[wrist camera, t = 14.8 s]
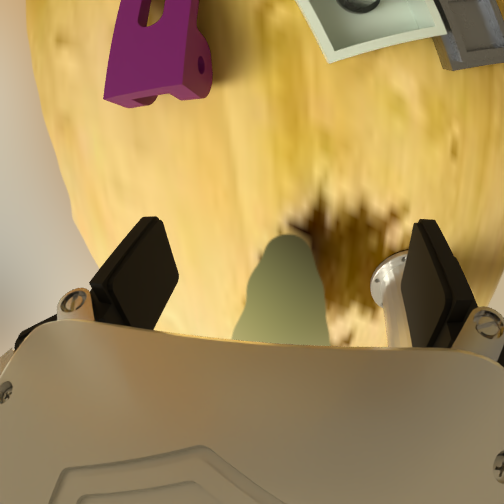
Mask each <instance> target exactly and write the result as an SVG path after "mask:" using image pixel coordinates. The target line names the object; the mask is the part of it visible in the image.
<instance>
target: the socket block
mask: <svg viewBox="0 0 504 504" xmlns="http://www.w3.org/2000/svg"><path fill="white" fill-rule="evenodd" d="M433 1H434V3H435V5H436V8H437V10H438V12H439V14H440V17H441V19H442V22H443V24H444V27H445V29H446V32H447V34H445V35H439V36H434V37H432V39H433V42H434V44H435V47H436V50H437V53H438V55H439V58H440V61H441V64H442V67H443V69H446V70H451V71H455V70H460V69H466V68H471V67H477V66H483V65H490V64H496V63H504V21H503V18H502V15H501V12H500V10H499V7H498V5H497V2H496V0H433Z"/></svg>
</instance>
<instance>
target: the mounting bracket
mask: <svg viewBox="0 0 504 504" xmlns="http://www.w3.org/2000/svg"><path fill="white" fill-rule="evenodd" d="M150 4H151V0H121V2H120V6H119V11H118V15H117V19H116V24H115V29H114V33H113V38H112V44H111V49H110V55H109V61H108V67H107V74H106V81H105V89H104V97H103V99H104V100H107V101H110V102H112V103H115V104H118V105H121V106H123V107H126V108H134V107H140V106H146V105H150V104H152V103H153V102H154V101H155V100H156V98H157V96H158V95H161V94H167V93H169V94H171V95H173V96H174V97H176V98H178V99H179V100H191V99H201V98H205V97H207V95H208V94H209V92H210V89H211V85H212V76H213V72H212V62H211V53H210V49H209V46H208V43H207V41H206V39H205V38H204V36H203V35H202V34H201V33H200V31H199V30H198V28H197V14H198V5H199V0H165V5H164V11H163V15H162V17H161V18H160V19H159V20H158V21H157V22H156V23H155V24H153V25H151V26H149V27H146V26H147V20H148V15H149V9H150Z"/></svg>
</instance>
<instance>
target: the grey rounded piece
mask: <svg viewBox="0 0 504 504" xmlns="http://www.w3.org/2000/svg"><path fill="white" fill-rule="evenodd" d="M336 1H337V3H338V4H339V6H340V7H342V8H343V9H344V10H346V11H348V12H350V13H353V14H366V13H368V12H370V11H372V10H373V9H375V8H376V7H377V6H378V5H379V3H380V0H336Z"/></svg>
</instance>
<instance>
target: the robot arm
mask: <svg viewBox="0 0 504 504" xmlns="http://www.w3.org/2000/svg"><path fill="white" fill-rule="evenodd" d="M178 279H179V274H178V270H177V267H176V264H175V261H174V257H173V254H172V251H171V248H170V244H169V241H168V238H167V234H166V231H165V228H164V224H163V222H162V221H161V220H159V218H158V217H142V218H141V219H140V221H139V222H138V223H137V224H136V225H135V226H134V228H133V229H132V230H131V231H130V232H129V233H128V235H127V236H126V237H125V238H124V239H123V241H122V242H121V243H120V244H119V245H118V247H117V248H116V249H115V250H114V252H113V253H112V254H111V255H110V257H109V258H108V259H107V260H106V262H105V263H104V264H103V265H102V267H101V268H100V269H99V271H98V272H97V273H96V274H95V276H94V277H93V278H92V280H91V281H90V282H89V283H90V285H91V287H92V289H91V291H90V292H89V290H87V289H85V288H76V289H73V290H71V291H69V292H68V293H66V294H65V295H64V296H63V297H62V298H61V299H60V301H59V303H58V306H57V314H56V315H54V316H52V317H50V318H48V319H46V320H44V321H42V322H40V323H38V324H36V325H34V326H32V327H30V328H28V329H26V330H24V331H22V332H21V333H20V335H19V337H18V339H17V340H16V343H15V350H13V349H12V348H11V349H10V350H9V351H7V352H6V353H5V354H4V355H2V356H1V357H0V504H504V318H503V317H502V315H501V314H499V313H498V312H497V311H496V310H494V309H492V308H489V307H478V306H477V303H476V301H475V299H474V296H473V294H472V291H471V289H470V287H469V284H468V282H467V280H466V278H465V275H464V273H463V271H462V269H461V267H460V265H459V262H458V260H457V259H456V257H454V256H453V254H452V252H451V250H450V248H449V246H448V244H447V242H446V240H445V238H444V236H443V234H442V232H441V230H440V228H439V226H438V224H437V223H436V221H435V220H428V219H420V220H419V222H418V223H414V225H413V230H412V235H411V240H410V245H409V250H407V251H402V252H399V253H397V254H394V255H392V256H390V257H389V258H387V259H386V260H384V261H383V262H382V263H381V264H380V265H379V266H378V267H377V268H376V270H375V272H374V273H373V276H372V279H371V284H370V287H371V294H372V297H373V299H374V301H375V302H376V303H377V304H378V305H379V306H380V307H382V308H383V310H384V317H385V324H386V332H387V340H388V347H338V346H313V345H293V344H278V343H264V342H251V341H240V340H230V339H220V338H211V337H202V336H193V335H185V334H177V333H170V332H162V331H155V330H153V329H154V327H155V325H156V323H157V321H158V319H159V317H160V315H161V313H162V311H163V309H164V308H165V306H166V304H167V302H168V300H169V298H170V296H171V294H172V292H173V290H174V288H175V286H176V284H177V283H178Z"/></svg>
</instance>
